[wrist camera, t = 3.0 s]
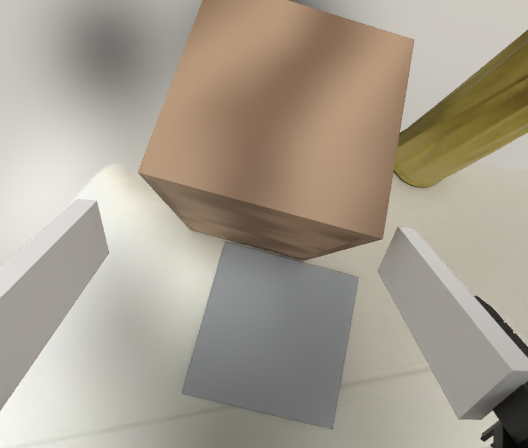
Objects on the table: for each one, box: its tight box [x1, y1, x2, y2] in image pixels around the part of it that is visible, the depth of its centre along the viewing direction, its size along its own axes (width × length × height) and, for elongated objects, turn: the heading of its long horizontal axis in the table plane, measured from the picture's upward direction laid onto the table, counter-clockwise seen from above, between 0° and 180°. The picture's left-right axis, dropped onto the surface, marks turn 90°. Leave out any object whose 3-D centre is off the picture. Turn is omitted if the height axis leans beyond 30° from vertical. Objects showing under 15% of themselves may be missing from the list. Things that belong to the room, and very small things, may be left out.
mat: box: [182, 242, 359, 429], centre depth 23 cm, size 12×12×1 cm
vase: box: [394, 30, 528, 187], centre depth 21 cm, size 6×6×14 cm
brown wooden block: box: [138, 0, 414, 260], centre depth 19 cm, size 10×10×13 cm
